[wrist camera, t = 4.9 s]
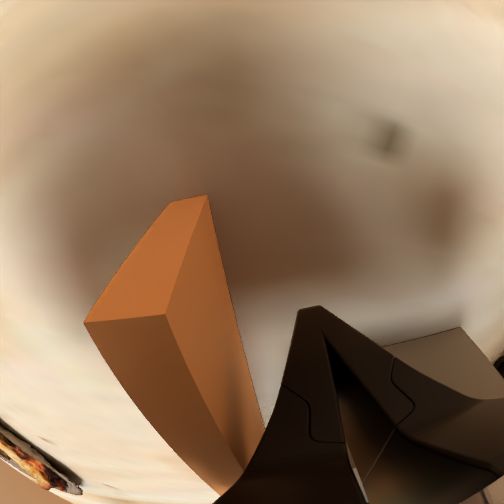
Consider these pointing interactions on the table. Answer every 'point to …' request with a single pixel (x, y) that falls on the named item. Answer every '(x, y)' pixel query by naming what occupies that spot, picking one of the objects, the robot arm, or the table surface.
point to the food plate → (33, 464)
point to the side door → (182, 344)
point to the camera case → (448, 367)
